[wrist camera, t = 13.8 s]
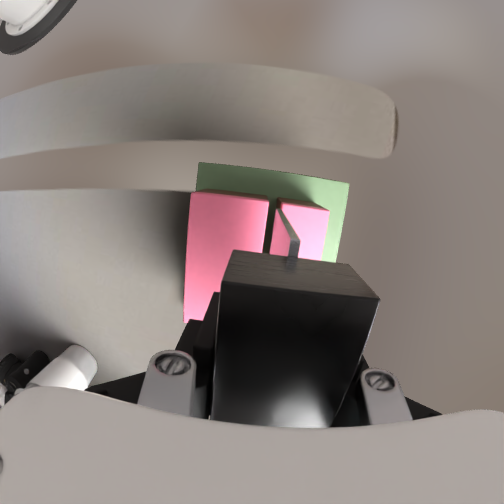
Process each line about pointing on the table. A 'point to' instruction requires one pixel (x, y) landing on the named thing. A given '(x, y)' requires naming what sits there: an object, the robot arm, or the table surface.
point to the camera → (20, 372)
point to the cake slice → (306, 225)
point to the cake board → (282, 195)
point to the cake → (218, 241)
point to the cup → (67, 370)
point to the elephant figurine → (2, 394)
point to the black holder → (287, 335)
